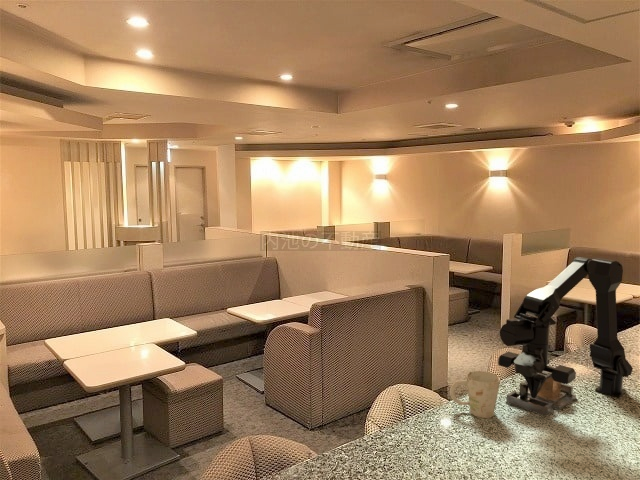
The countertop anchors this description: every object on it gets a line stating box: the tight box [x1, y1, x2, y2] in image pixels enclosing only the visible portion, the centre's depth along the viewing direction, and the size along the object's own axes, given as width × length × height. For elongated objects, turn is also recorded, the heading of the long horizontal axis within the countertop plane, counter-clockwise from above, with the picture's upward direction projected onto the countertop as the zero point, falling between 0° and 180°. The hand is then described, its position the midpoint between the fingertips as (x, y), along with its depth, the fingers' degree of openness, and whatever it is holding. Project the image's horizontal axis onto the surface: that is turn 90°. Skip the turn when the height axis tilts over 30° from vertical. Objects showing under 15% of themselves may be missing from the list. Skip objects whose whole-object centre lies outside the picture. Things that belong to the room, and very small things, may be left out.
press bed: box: [528, 383, 577, 411], centre depth 142 cm, size 11×12×3 cm
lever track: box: [505, 390, 554, 417], centre depth 136 cm, size 4×11×2 cm, turn 43°
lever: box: [517, 382, 530, 402], centre depth 137 cm, size 2×3×5 cm
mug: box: [449, 370, 501, 419], centre depth 132 cm, size 8×13×10 cm, turn 78°
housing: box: [538, 377, 561, 399], centre depth 142 cm, size 6×6×6 cm
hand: (533, 397), depth 135 cm, fingers closed
